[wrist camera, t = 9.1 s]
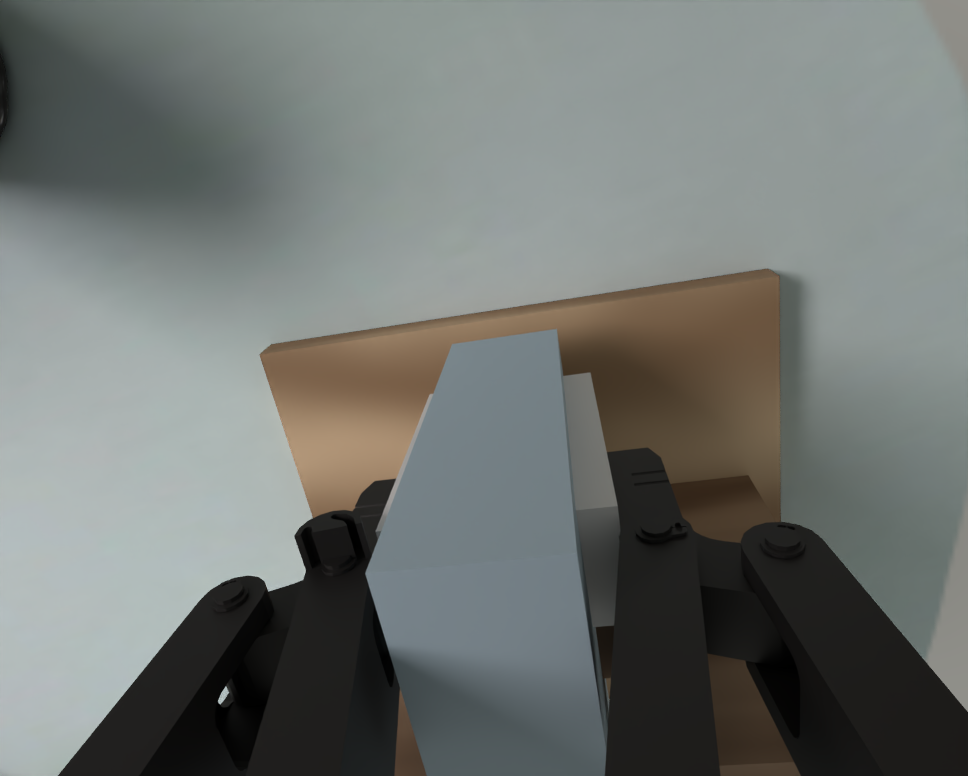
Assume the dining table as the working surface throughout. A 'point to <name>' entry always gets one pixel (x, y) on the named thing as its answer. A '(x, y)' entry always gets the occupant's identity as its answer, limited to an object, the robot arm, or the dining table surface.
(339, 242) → the dining table surface
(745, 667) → the jig
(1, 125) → the pill bottle
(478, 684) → the slotted plate
